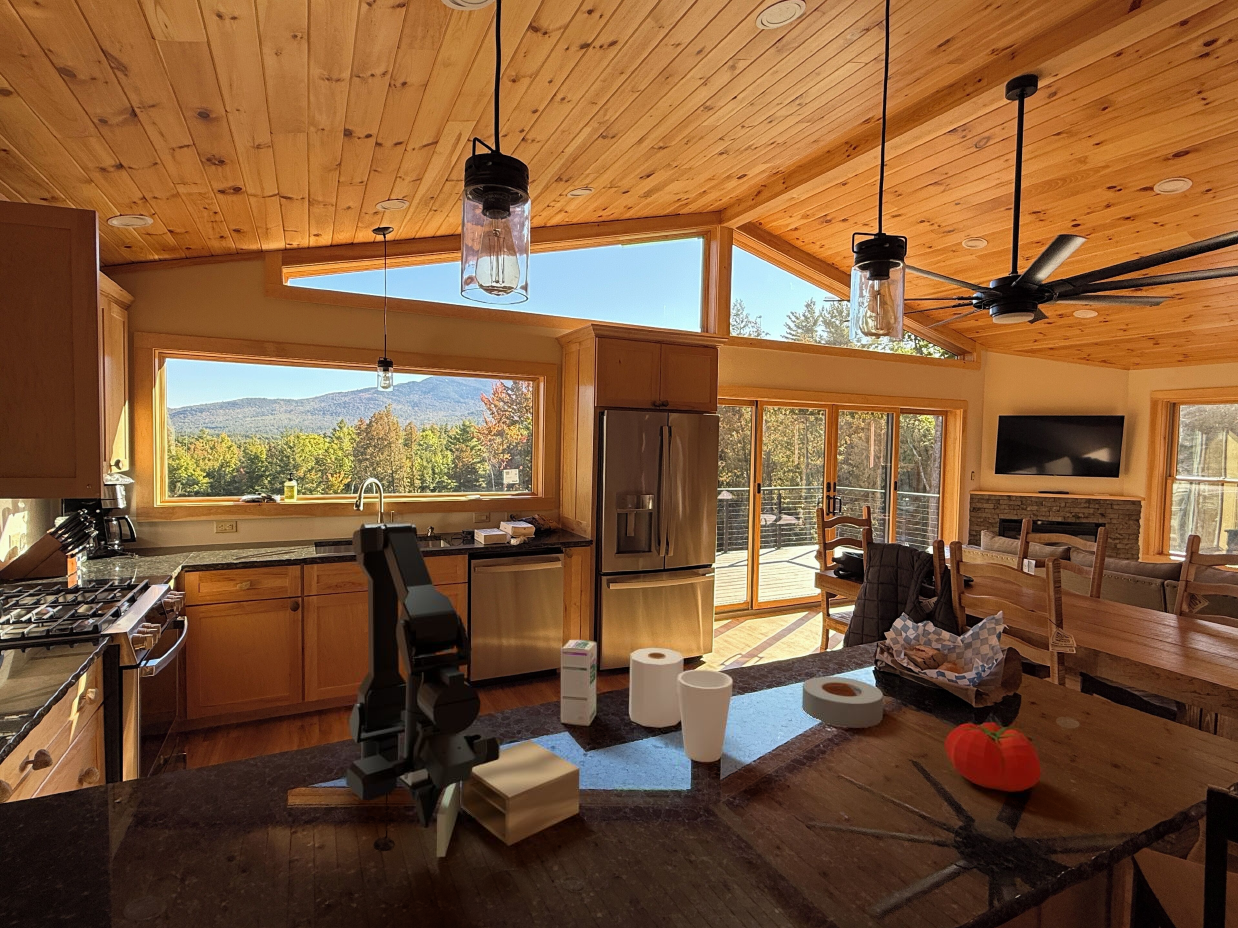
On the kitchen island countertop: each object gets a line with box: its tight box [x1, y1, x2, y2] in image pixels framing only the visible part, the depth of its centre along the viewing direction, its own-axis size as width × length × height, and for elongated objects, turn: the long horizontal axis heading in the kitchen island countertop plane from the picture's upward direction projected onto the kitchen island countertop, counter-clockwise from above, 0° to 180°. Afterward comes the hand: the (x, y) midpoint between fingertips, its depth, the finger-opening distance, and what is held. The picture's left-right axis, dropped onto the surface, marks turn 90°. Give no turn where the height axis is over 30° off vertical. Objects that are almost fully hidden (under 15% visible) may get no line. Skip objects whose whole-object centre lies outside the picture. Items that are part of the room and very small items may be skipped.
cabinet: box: [460, 739, 580, 847], centre depth 97 cm, size 12×12×6 cm
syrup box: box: [560, 639, 598, 727], centre depth 129 cm, size 6×6×14 cm
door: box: [436, 781, 461, 858], centre depth 91 cm, size 12×1×6 cm, turn 4°
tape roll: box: [801, 676, 884, 727], centre depth 135 cm, size 15×15×5 cm
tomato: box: [944, 722, 1042, 793], centre depth 108 cm, size 14×13×9 cm
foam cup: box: [677, 669, 733, 763], centre depth 116 cm, size 10×9×13 cm
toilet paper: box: [628, 647, 684, 729], centre depth 131 cm, size 10×10×12 cm
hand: (425, 826), depth 87 cm, fingers closed
